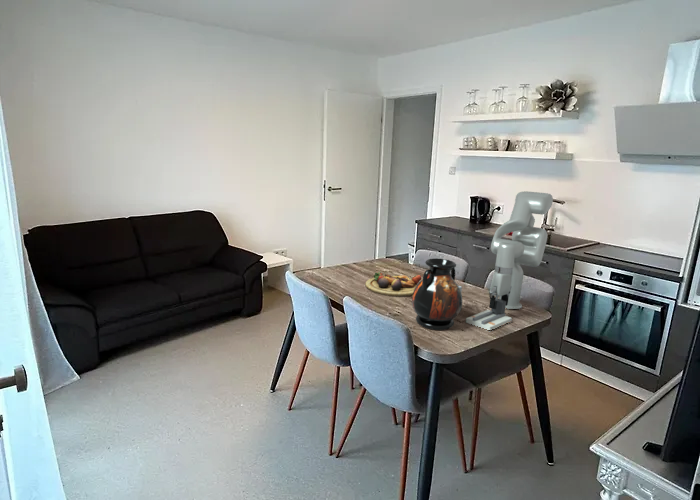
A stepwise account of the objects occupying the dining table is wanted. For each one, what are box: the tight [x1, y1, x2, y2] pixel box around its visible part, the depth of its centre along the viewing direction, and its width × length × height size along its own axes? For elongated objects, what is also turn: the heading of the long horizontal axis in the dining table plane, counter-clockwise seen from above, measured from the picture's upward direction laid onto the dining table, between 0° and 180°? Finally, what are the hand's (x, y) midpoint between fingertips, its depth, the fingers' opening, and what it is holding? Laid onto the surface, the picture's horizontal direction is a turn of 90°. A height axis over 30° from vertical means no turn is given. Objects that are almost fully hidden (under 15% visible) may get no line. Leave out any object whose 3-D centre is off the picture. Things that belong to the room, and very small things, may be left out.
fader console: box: [465, 309, 513, 331], centre depth 192 cm, size 18×12×3 cm, turn 131°
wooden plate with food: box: [364, 271, 422, 298], centre depth 234 cm, size 32×32×8 cm
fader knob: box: [490, 297, 506, 315], centre depth 196 cm, size 3×5×7 cm, turn 41°
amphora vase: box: [411, 258, 463, 331], centre depth 185 cm, size 22×22×28 cm
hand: (498, 306), depth 195 cm, fingers open, 9 cm apart
